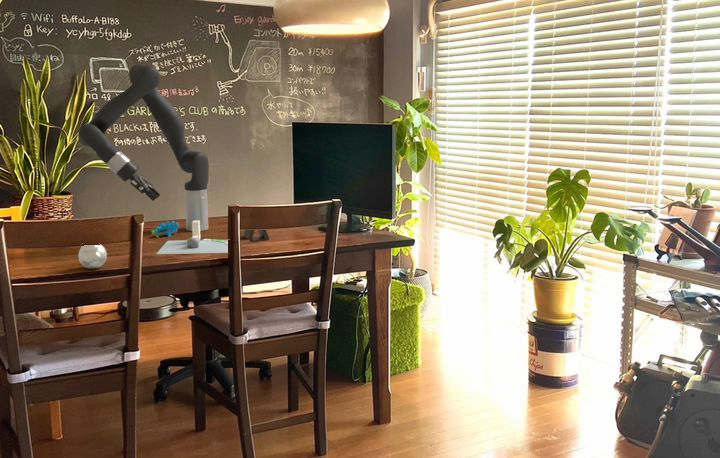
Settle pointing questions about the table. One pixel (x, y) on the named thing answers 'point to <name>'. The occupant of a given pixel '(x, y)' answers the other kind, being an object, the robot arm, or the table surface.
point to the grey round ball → (92, 256)
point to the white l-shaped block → (194, 235)
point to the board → (204, 247)
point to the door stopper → (263, 236)
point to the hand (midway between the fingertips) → (156, 197)
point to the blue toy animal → (166, 229)
